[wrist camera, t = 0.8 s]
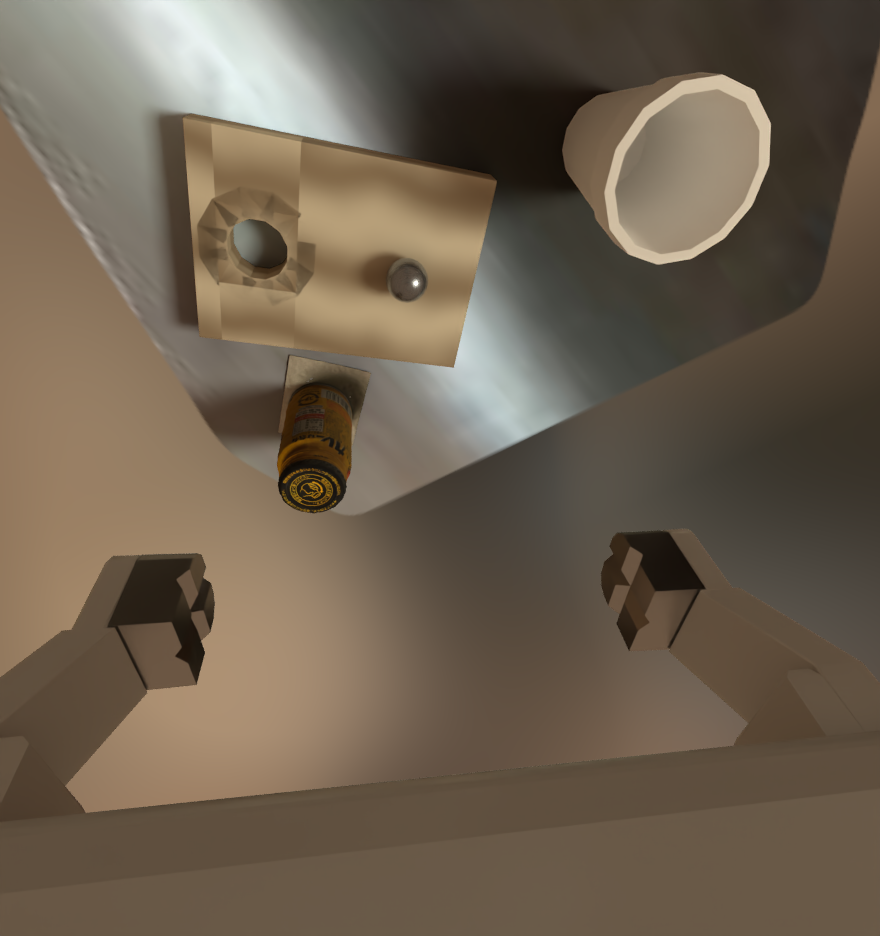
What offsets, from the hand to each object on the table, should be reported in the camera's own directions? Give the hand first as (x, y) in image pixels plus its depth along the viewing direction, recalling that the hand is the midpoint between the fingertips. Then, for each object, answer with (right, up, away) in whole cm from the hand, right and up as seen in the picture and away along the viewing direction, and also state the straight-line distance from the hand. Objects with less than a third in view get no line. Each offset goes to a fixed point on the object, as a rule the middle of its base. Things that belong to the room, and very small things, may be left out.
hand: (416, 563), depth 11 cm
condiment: (-11, +8, +40) cm, 43 cm away
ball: (-2, +16, +30) cm, 34 cm away
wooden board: (-7, +19, +32) cm, 38 cm away
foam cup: (+13, +26, +30) cm, 42 cm away
